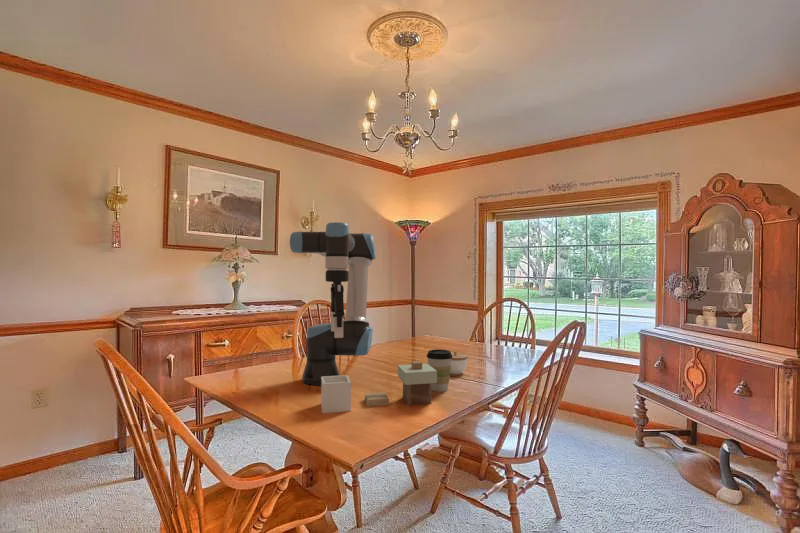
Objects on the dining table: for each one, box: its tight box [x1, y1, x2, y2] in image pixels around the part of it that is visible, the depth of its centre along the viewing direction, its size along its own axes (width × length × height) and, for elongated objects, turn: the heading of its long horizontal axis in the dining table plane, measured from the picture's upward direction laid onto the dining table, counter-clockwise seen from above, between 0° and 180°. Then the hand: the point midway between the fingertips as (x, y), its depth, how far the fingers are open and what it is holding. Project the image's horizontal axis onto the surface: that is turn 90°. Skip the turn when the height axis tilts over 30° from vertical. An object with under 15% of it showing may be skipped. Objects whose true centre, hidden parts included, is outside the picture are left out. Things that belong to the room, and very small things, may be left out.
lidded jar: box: [450, 351, 468, 375], centre depth 184 cm, size 11×11×9 cm
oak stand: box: [364, 391, 390, 408], centre depth 141 cm, size 7×7×3 cm
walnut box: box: [402, 382, 432, 406], centre depth 143 cm, size 8×8×8 cm
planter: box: [320, 374, 352, 414], centre depth 135 cm, size 9×9×10 cm
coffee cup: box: [426, 348, 452, 393], centre depth 156 cm, size 10×10×15 cm
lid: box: [397, 360, 437, 385], centre depth 143 cm, size 11×11×6 cm
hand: (336, 334), depth 136 cm, fingers open, 13 cm apart
